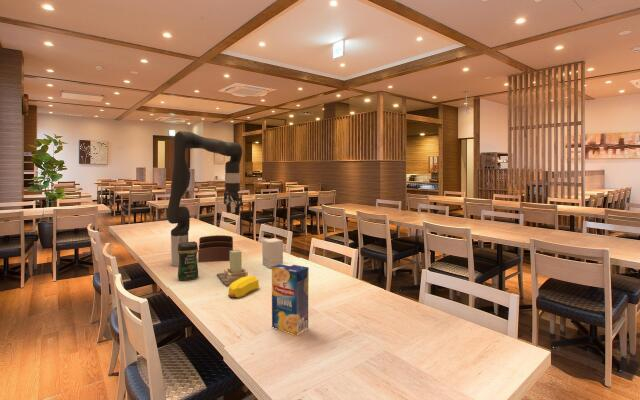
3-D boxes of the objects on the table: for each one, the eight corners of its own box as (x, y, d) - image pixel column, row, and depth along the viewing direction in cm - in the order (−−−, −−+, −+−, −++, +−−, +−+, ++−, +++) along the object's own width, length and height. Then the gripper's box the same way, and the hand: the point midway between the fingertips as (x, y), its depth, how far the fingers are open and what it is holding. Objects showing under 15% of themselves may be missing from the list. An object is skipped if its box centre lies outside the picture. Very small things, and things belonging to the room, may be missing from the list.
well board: (216, 276, 183) (216, 268, 183) (241, 272, 189) (241, 264, 189) (225, 286, 167) (225, 278, 167) (252, 282, 174) (252, 274, 173)
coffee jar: (180, 282, 173) (178, 244, 171) (176, 277, 180) (175, 241, 178) (200, 278, 178) (199, 242, 177) (196, 274, 185) (195, 239, 183)
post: (229, 276, 179) (229, 250, 178) (238, 274, 182) (238, 249, 181) (232, 278, 176) (232, 252, 174) (241, 277, 178) (241, 251, 177)
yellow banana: (223, 297, 154) (237, 301, 151) (223, 282, 153) (237, 285, 150) (249, 285, 170) (262, 288, 167) (249, 271, 169) (262, 274, 166)
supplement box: (283, 266, 202) (283, 240, 200) (269, 268, 197) (269, 242, 195) (276, 262, 209) (276, 237, 208) (262, 265, 204) (261, 239, 203)
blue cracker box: (284, 320, 132) (284, 262, 130) (308, 328, 126) (308, 267, 124) (271, 327, 126) (271, 266, 124) (296, 336, 120) (296, 272, 118)
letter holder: (199, 258, 218) (199, 235, 216) (233, 256, 223) (232, 234, 221) (198, 262, 208) (197, 239, 207) (233, 260, 213) (232, 237, 212)
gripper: (246, 182, 179) (246, 214, 181) (231, 181, 189) (232, 211, 191) (233, 182, 174) (233, 215, 176) (218, 181, 184) (219, 212, 186)
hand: (232, 213), depth 183 cm, fingers open, 8 cm apart
